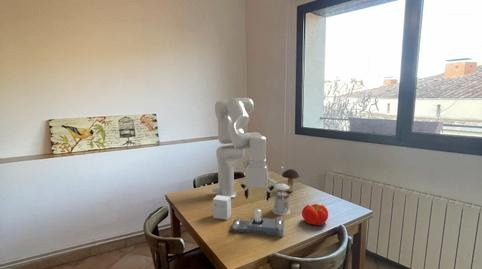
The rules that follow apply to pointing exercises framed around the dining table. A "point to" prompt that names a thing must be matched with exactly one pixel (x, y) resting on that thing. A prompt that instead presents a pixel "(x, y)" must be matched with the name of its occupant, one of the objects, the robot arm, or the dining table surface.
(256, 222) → the steel pin
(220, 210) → the small box
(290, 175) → the decorative mushroom
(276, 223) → the plate with square hole
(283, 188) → the french press
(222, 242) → the dining table surface
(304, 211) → the tomato
